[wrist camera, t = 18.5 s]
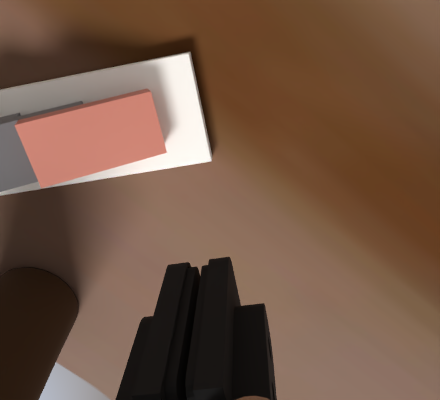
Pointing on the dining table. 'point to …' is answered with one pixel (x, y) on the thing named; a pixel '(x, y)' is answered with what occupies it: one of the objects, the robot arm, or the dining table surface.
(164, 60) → the board
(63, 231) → the dining table surface
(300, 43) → the dining table surface
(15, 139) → the domino
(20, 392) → the olive oil
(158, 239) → the dining table surface
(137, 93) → the red domino
